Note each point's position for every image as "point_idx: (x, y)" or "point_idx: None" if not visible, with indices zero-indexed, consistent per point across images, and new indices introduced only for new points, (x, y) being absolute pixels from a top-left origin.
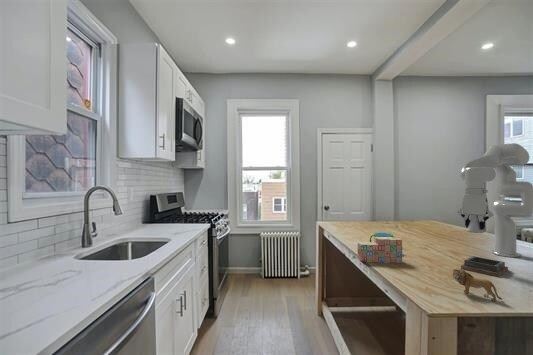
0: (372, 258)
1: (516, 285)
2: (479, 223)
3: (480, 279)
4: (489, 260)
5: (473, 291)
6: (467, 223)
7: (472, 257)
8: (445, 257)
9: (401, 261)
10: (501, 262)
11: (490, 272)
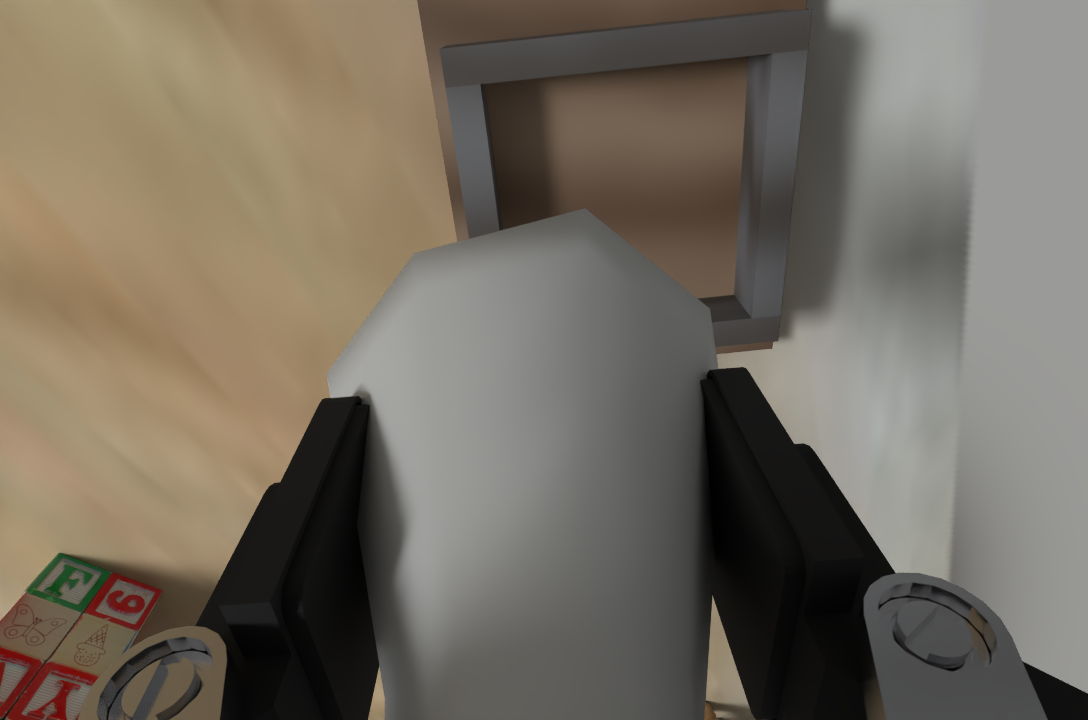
0: None
1: (892, 419)
2: (710, 619)
3: None
4: (644, 66)
5: (724, 678)
6: (373, 651)
7: (471, 149)
8: (85, 29)
9: (155, 604)
10: (786, 88)
11: (718, 350)
